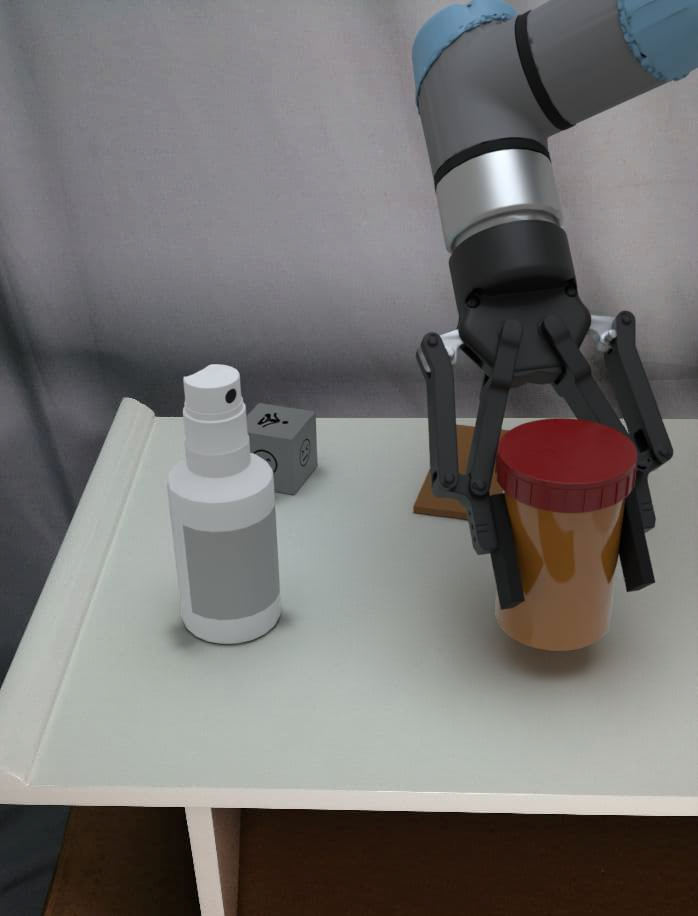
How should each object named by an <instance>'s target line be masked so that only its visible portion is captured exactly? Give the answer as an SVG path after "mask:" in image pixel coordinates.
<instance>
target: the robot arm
mask: <svg viewBox="0 0 698 916" xmlns="http://www.w3.org/2000/svg"><path fill="white" fill-rule="evenodd" d="M411 63H412V71H413V79H414V87H415V93H414V94H415V95H414V97H415V100H414V102H415V106H416V108H417V114H418V115H419V118H420V122H421V126H422V133H423V137H424V141H425V145H426V150H427V155H428V160H429V164H430V169H431V175H432V178H433V186H434V192H435V195H436V202H437V208H438V213H439V218H440V219H439V220H440V224H441V229H442V234H443V235H442V236H443V240H444V246H445V249H446V251H447V252H448V253H449V254H450V256H449V259H448V268H449V273H450V278H451V279H450V280H451V285H452V290H453V295H454V300H455V305H456V310H457V315H458V320H457V321H458V322H457V326H456V328H455V329H454V330H451V331H449V332H445V333H442V334H438V333H437V332H434V331H431V332H427V333H426V334H425V335H424V336H423V337H422V338H421V341H420V343H419V346H418V348H417V349H416V351H415V360H416V362H417V364H418V366H419V369H420V372H421V374H422V376H423V378H424V380H425V383H426V404H427V405H426V407H427V427H428V447H429V448H428V449H429V470H430V475H431V491H432V493H433V495H434V496H435V497H437V498H441V499H442V498H451V499H455V500H458V501H460V504H461V505H462V506H463V507H465V508H466V512H467V517H468V519H467V521H468V527H469V528H468V529H469V532H470V537H471V544H472V548H473V550H474V551H475V553H476V555H478V556H483V555H489V554H490V560H491V564H492V571H493V576H494V581H495V587H497V592H498V597H499V603H500V608H501V610H503V609H510V608H514V607H516V606H517V605H519V604H520V603H522V602H524V601H525V598H524V593H523V588H522V583H521V577H520V572H519V567H518V562H517V557H516V551H515V546H514V541H513V536H512V531H511V525H510V520H509V515H508V510H507V505H506V500H505V494H504V493H501V494H493V495H491V496H490V494H489V489H490V486H491V481H492V476H493V470H494V465H495V460H496V454H497V450H498V444H499V439H500V434H501V429H502V428H503V423H504V418H505V412H506V407H507V402H508V397H509V393H510V390H511V389H516V388H520V387H522V386H524V385H527V384H535V385H540V386H541V385H551V387H552V389H553V391H555V393H556V395H557V396H559V397H561V398H563V399H564V401H565V403H566V404H567V406H568V407H569V409H570V410H571V413H573V415H574V417H575V419H579V420H586V421H591V422H595V423H599V424H602V425H605V426H608V427H610V428H613V429H615V430H617V431H619V432H621V433H622V434H624V435H625V436H626V437H627V438H629V439H630V440H631V441H632V443H633V444H634V446H635V448H636V450H637V460H638V463H637V470H636V478H635V485H634V488H633V489H632V490H631V492H630V494H629V495H628V497H626V499H625V507H624V515H623V524H622V532H621V540H620V548H619V556H618V558H619V561H620V566H621V572H622V575H623V580H624V585H625V589H626V590H625V591H626V593H631V592H638V591H641V590H643V589H645V588H647V587H649V586H651V585H653V584H656V578H655V573H654V570H653V564H652V561H651V556H650V552H649V551H650V550H649V546H648V542H647V541H648V540H647V537H646V533H648V532H649V531H651V530H653V529H654V528H655V527H656V521H657V517H656V512H655V510H654V508H655V507H654V503H653V499H652V495H651V490H650V485H649V482H648V481H649V480H648V478H649V475H650V473H653V472H654V471H656V470H658V469H659V468H661V467H662V466H663V465H664V464H666V463H668V462H669V461H671V459H672V458H673V456H674V447H673V445H672V443H671V439H670V437H669V434H668V431H667V429H666V425H665V423H664V420H663V417H662V415H661V412H660V409H659V407H658V404H657V401H656V398H655V395H654V392H653V390H652V388H651V384H650V382H649V378H648V376H647V374H646V373H647V372H646V371H645V370H646V369H645V368H644V365H643V362H642V360H641V357H640V355H639V351H638V349H637V346H636V342H637V341H636V338H637V337H636V333H637V332H636V329H637V327H636V323H637V322H636V321H637V319H636V316H635V315H634V313H633V312H631V311H629V310H621V311H619V312H618V313H617V315H616V316H609V315H600V314H591V312H590V310H589V308H588V307H587V306H586V305H585V304H584V302H583V301H582V299H581V297H580V295H579V290H578V282H577V276H576V272H575V271H576V270H575V267H574V262H573V257H572V252H571V248H570V243H569V238H568V234H567V232H566V230H565V229H563V228H562V226H563V224H564V220H565V217H564V215H563V208H562V205H561V202H560V197H559V196H560V195H559V192H558V187H557V183H556V179H555V178H556V177H555V173H554V170H553V165H552V159H551V155H550V150H549V143H548V141H549V140H548V139H549V138H550V137H552V136H554V135H556V134H557V135H558V134H560V133H561V132H563V131H567V130H569V129H571V128H574V127H575V126H576V125H577V124H580V123H581V122H584V121H586V120H589V119H590V118H592V117H594V116H597V115H599V114H601V113H603V112H606V111H608V110H610V109H613V108H615V107H617V106H619V105H622V104H624V103H626V102H629V101H631V100H632V99H635V98H637V97H639V96H642V95H644V94H646V93H648V92H650V91H652V90H654V89H657V88H659V87H661V86H663V85H665V84H668V83H670V82H672V81H674V82H678V81H681V80H683V79H685V78H687V76H689V74H690V73H691V72H693V71H694V70H696V69H698V0H548V1H546V2H544V3H542V4H541V5H539V6H537V7H535V8H534V9H529V10H527V11H525V12H523V13H521V14H518V12H517V10H516V9H515V8H514V7H513V6H512V5H510V4H509V3H508V2H505V1H503V0H470V1H469V2H468V3H465V4H459V3H457V2H455V3H452V4H450V5H448V6H445V7H443V8H442V9H440V10H439V11H437V12H435V13H434V14H432V16H430V17H429V18H428V19H427V20H426V21H425V23H423V25H422V26H421V28H420V29H419V30H418V32H417V34H416V35H415V37H414V41H413V44H412V47H411ZM586 336H589V337H590V338H591V339H592V340H593V342H594V345H595V349H596V351H597V352H599V353H603V361H604V366H605V370H606V373H607V375H608V379H609V381H610V384H611V387H612V389H613V393H614V395H615V398H616V401H617V403H618V406H619V409H620V413H621V415H622V417H623V420H624V423H625V425H624V424H623V422H622V421H621V419H620V417H619V416H618V414H617V413H616V412H615V410H614V408H613V407H612V405H611V404H610V402H609V400H608V399H607V397H606V396H605V394H604V393H603V391H602V389H601V388H600V386H599V385H598V383H597V381H596V380H595V379H594V377H593V373H592V367H591V366H590V364H589V362H588V361H587V358H585V355H584V354H583V353H582V351H581V346H582V345H583V342H584V340H585V338H586ZM459 350H460V351H462V353H463V354H465V355H466V356H467V357H468V358H469V359H470V360H471V361H472V363H474V365H476V366H477V367H478V368H479V369H480V370H481V371H482V372H483V376H482V381H481V386H480V391H479V392H480V393H479V398H478V399H479V403H478V408H477V414H476V419H475V424H474V427H475V429H474V434H473V439H472V444H471V449H470V454H469V459H468V464H467V469H466V474H465V475H463V474H459V469H458V449H457V430H456V425H457V412H456V394H455V391H456V389H455V376H454V366H456V363H457V362H458V358H459V355H458V351H459ZM625 426H626V427H625ZM502 430H503V429H502Z"/></svg>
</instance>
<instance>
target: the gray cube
mask: <svg viewBox="0 0 698 916" xmlns="http://www.w3.org/2000/svg"><path fill="white" fill-rule="evenodd" d="M246 419H247V433H248V435H249V442H250V453H253V454H256V455H257V456H259V457H260V458H262V459H264V460H265V461H266V462H267V463H268V464H269V466H270V467H271V469H272V471H273V476H274V493H279V494H286V495H291V496H295V495H296V494H297V492H298V491H299V490H300V488H302V486H303V485H304V484H305V482H306V481H307V480H308V478H309V477H310V476H311V475H312V474H313V472H314V471H315V470H316V469H317V467H318V466H319V465H318V442H317V441H318V440H317V439H318V438H317V412H316V411H314V410H307V409H302V408H296V407H295V408H294V407H288V406H282V405H275V404H269V403H262V402H259V403H257V404H256V406H255V407H254V408H253V409H252V410H251V411H250V412H249V413H248V414H246Z"/></svg>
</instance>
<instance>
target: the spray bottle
mask: <svg viewBox="0 0 698 916" xmlns="http://www.w3.org/2000/svg"><path fill="white" fill-rule="evenodd" d="M182 378H183V379H182V380H183V382H182V383H183V391H184V407H183V408H182V416H183V417H182V418H183V427H184V450H185V451H184V452H185V458H183V459H182V460H180V461H179V462H177V463H176V464H175V465H174V467H173V468H172V469H171V470H170V472H169V473H168V475H167V482H166V490H167V491H166V492H167V499H168V507H169V508H168V509H169V518H170V526H171V535H172V543H173V544H172V545H173V552H174V560H175V569H176V576H177V577H176V578H177V587H178V595H179V604H180V612H181V618H182V621H183V624H184V625H185V628H186V629H187V630H188V631H189V632H190V633H191V634H192V635H194V636H195V637H196V638H199V639H201V640H203V641H206V642H208V643H215V644H221V645H230V644H231V645H233V644H241V643H245V642H246V643H247V642H250V641H254V640H256V639H257V638H259V637H262V636H263V635H266V634H267V633H269V632H270V631H271V629H273V628H274V627H275V626H276V625H277V622H278V620H279V618H280V616H281V614H282V602H281V601H282V600H281V583H280V581H281V580H280V567H279V566H280V565H279V548H278V531H277V529H278V528H277V513H276V495H275V492H274V476H273V471H272V469H271V467H270V466H269V464H268V463H267V462H266V461H265V460H264V459H262V458H260V457H259V456H257V455H256V454H253V453H250V442H249V435H248V433H247V419H246V416H247V406H246V403H244V398H243V396H242V387H241V375H240V372H239V371H238V369H237V368H234V366H230V365H226V364H217V363H215V364H214V363H213V364H209V365H207V366H205V367H204V368H203V369H200V370H198V371H197V372H195V373H193V374H190V375H187V376H185V375H184V376H183V377H182Z"/></svg>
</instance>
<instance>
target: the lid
mask: <svg viewBox="0 0 698 916" xmlns="http://www.w3.org/2000/svg"><path fill="white" fill-rule="evenodd" d="M508 430H509V431H508V432H507V433H506V434H504V435H503V437H502V438H501V439H500V441H499V444H498V453H497V454H496V465H495V473H496V475H497V482H498V483H499V485H500V487H501V488H502V489H503V491H505V492H506V493H507V494H508V495H509V496H511V497H512V498H514V499H515V500H517V501H519V502H521V503H524V504H526V505H529V506H532V507H535V508H539V509H543V510H548V511H555V512H566V513H577V512H589V511H595V510H600V509H604V508H607V507H610V506H612V505H615V504H617V503H619V502H620V501H622V500H623V499H625V498H626V497H628V495H629V494H630V492H631V490H632V489H633V488H634V485H635V478H636V470H637V463H638V460H637V450H636V448H635V446H634V444H633V443H632V441H631V440H630V439H629V438H627V437H626V436H625V435H624V434H622V433H621V432H619V431H617V430H615V429H613V428H610V427H608V426H605V425H602V424H599V423H595V422H591V421H586V420H579V419H577V418H567V417H565V418H564V417H561V418H560V417H557V418H544V419H537V420H532V421H528V422H525V423H522V424H519V425H517V426H514V427H512V428H511V429H508Z"/></svg>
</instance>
